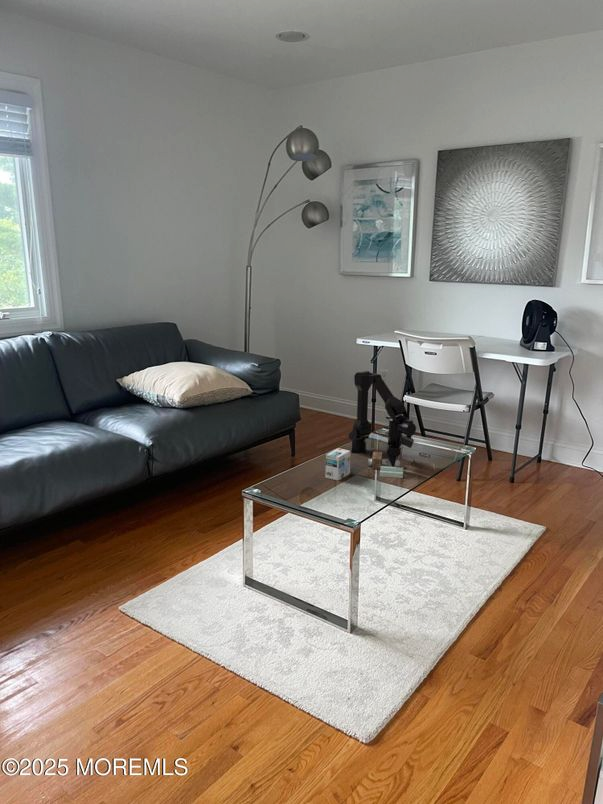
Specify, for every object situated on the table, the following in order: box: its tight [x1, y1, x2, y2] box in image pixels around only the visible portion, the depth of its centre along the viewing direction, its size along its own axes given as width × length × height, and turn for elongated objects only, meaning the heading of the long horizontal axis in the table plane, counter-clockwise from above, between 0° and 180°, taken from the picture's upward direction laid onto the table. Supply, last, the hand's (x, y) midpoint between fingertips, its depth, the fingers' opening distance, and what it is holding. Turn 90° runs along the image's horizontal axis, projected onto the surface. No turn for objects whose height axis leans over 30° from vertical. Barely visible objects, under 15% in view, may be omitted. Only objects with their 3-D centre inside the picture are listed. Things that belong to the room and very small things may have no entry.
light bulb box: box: [325, 447, 352, 481], centre depth 266 cm, size 11×7×11 cm, turn 146°
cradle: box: [379, 466, 404, 479], centre depth 270 cm, size 10×8×2 cm
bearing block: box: [371, 451, 383, 470], centre depth 279 cm, size 4×10×5 cm, turn 170°
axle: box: [367, 457, 401, 467], centre depth 278 cm, size 14×4×4 cm, turn 79°
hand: (393, 462), depth 278 cm, fingers open, 9 cm apart
